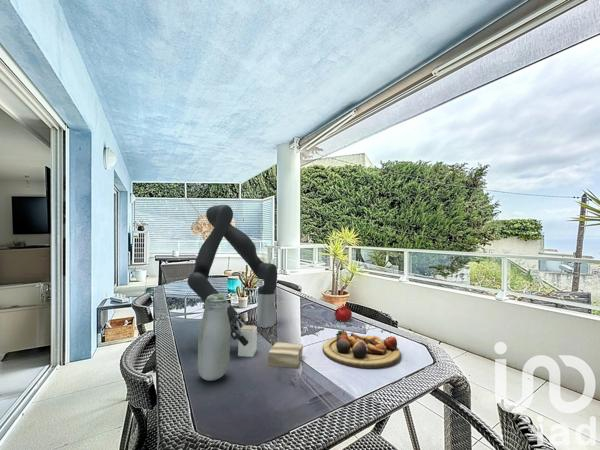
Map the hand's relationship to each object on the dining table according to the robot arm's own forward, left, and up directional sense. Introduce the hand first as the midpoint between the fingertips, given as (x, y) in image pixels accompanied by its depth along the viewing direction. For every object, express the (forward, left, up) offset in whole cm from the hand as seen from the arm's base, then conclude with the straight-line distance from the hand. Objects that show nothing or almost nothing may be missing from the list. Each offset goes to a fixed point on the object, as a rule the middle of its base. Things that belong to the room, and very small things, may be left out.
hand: (249, 340), depth 119 cm
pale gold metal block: (-6, +15, -5) cm, 17 cm away
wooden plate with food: (-34, +32, -6) cm, 47 cm away
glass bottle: (+21, +7, -5) cm, 23 cm away
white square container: (0, -1, -5) cm, 5 cm away
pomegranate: (-69, +1, -5) cm, 69 cm away
